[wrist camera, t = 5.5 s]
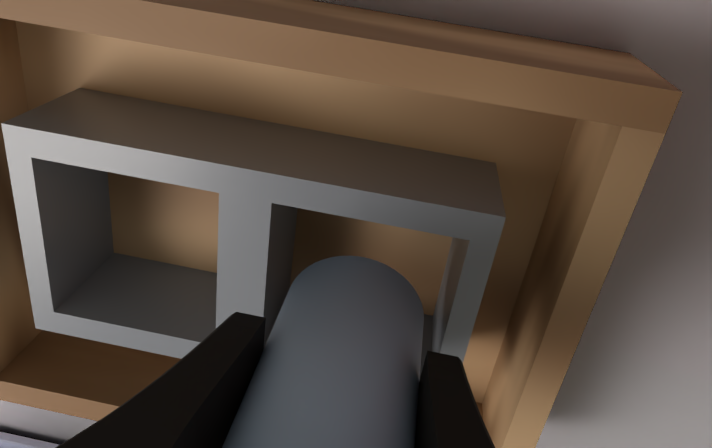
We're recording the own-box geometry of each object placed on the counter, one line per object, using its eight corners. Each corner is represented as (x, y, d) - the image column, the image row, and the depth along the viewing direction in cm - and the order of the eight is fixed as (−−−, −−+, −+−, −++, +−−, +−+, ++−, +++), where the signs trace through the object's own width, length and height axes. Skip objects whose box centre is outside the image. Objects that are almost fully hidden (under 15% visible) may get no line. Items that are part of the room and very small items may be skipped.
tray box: (499, 416, 19) (509, 510, 16) (45, 322, 20) (-28, 393, 17) (629, 53, 14) (682, 92, 10) (-14, -54, 14) (-138, -47, 11)
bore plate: (448, 337, 18) (447, 414, 15) (97, 267, 18) (35, 328, 16) (495, 162, 15) (505, 217, 12) (79, 87, 15) (1, 123, 13)
